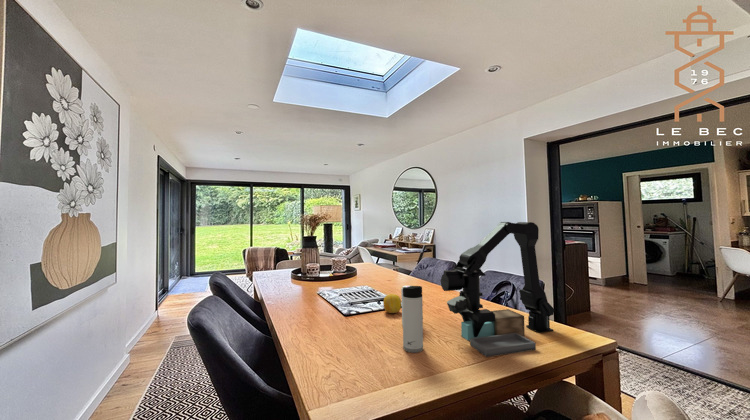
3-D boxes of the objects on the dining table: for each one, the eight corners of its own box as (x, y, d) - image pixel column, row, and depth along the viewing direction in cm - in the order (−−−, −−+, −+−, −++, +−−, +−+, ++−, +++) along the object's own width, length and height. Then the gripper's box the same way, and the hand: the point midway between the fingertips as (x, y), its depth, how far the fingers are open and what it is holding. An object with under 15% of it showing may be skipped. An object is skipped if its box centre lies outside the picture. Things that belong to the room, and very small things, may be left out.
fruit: (381, 310, 135) (380, 292, 136) (398, 308, 137) (397, 291, 138) (386, 316, 127) (386, 297, 127) (404, 314, 129) (404, 296, 129)
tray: (516, 339, 102) (516, 332, 102) (535, 349, 94) (535, 342, 94) (470, 345, 97) (470, 338, 97) (486, 357, 89) (486, 349, 89)
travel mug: (411, 355, 91) (410, 288, 91) (399, 347, 97) (398, 284, 97) (427, 350, 94) (426, 286, 94) (415, 343, 99) (414, 282, 100)
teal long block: (491, 332, 108) (491, 318, 108) (498, 336, 104) (498, 322, 104) (461, 336, 105) (461, 321, 105) (467, 340, 101) (467, 325, 101)
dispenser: (508, 328, 112) (508, 309, 112) (524, 336, 104) (524, 315, 105) (481, 331, 109) (481, 311, 109) (495, 339, 102) (495, 318, 102)
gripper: (437, 284, 111) (438, 327, 111) (465, 297, 93) (465, 348, 93) (464, 282, 114) (465, 324, 114) (496, 294, 96) (497, 344, 96)
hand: (472, 334), depth 104 cm, fingers closed on teal long block, 4 cm apart
